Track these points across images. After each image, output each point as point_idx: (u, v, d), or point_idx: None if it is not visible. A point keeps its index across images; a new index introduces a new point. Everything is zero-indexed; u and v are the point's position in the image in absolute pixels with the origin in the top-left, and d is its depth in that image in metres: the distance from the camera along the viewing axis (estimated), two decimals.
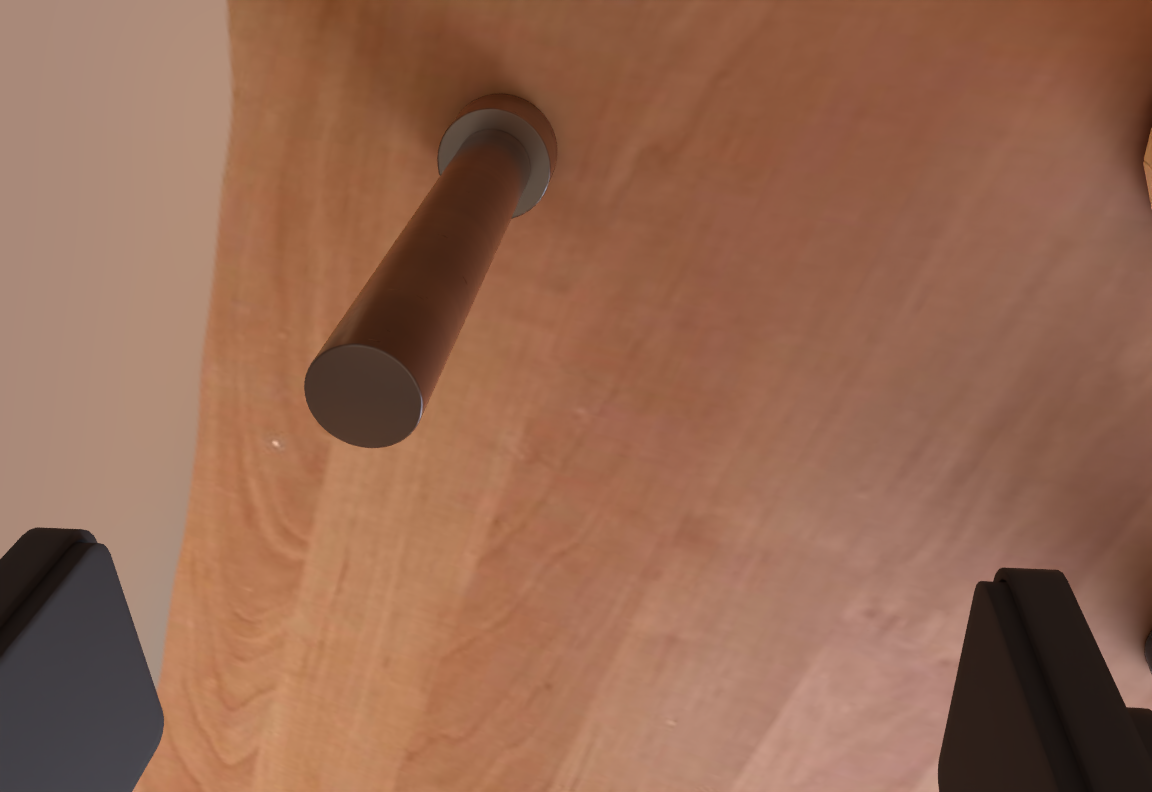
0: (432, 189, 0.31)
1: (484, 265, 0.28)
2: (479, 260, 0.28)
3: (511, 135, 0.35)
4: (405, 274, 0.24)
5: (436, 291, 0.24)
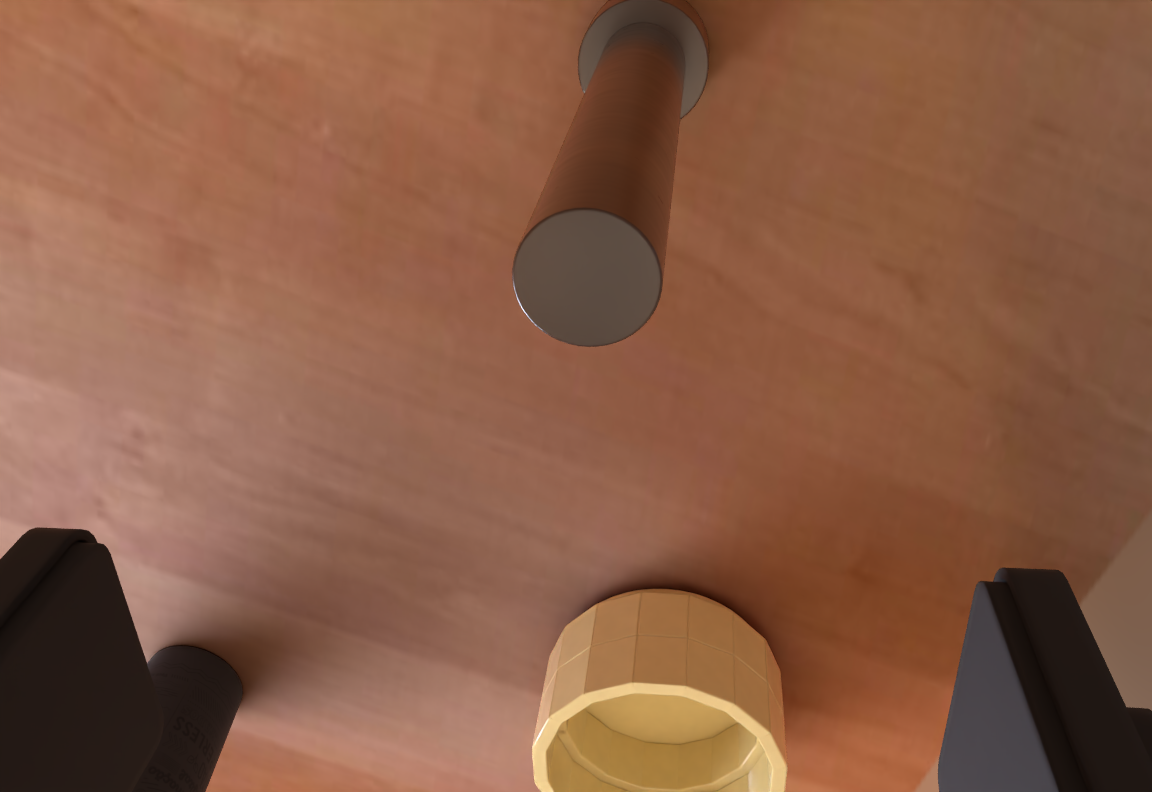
0: (669, 83, 0.26)
1: None
2: None
3: None
4: None
5: None
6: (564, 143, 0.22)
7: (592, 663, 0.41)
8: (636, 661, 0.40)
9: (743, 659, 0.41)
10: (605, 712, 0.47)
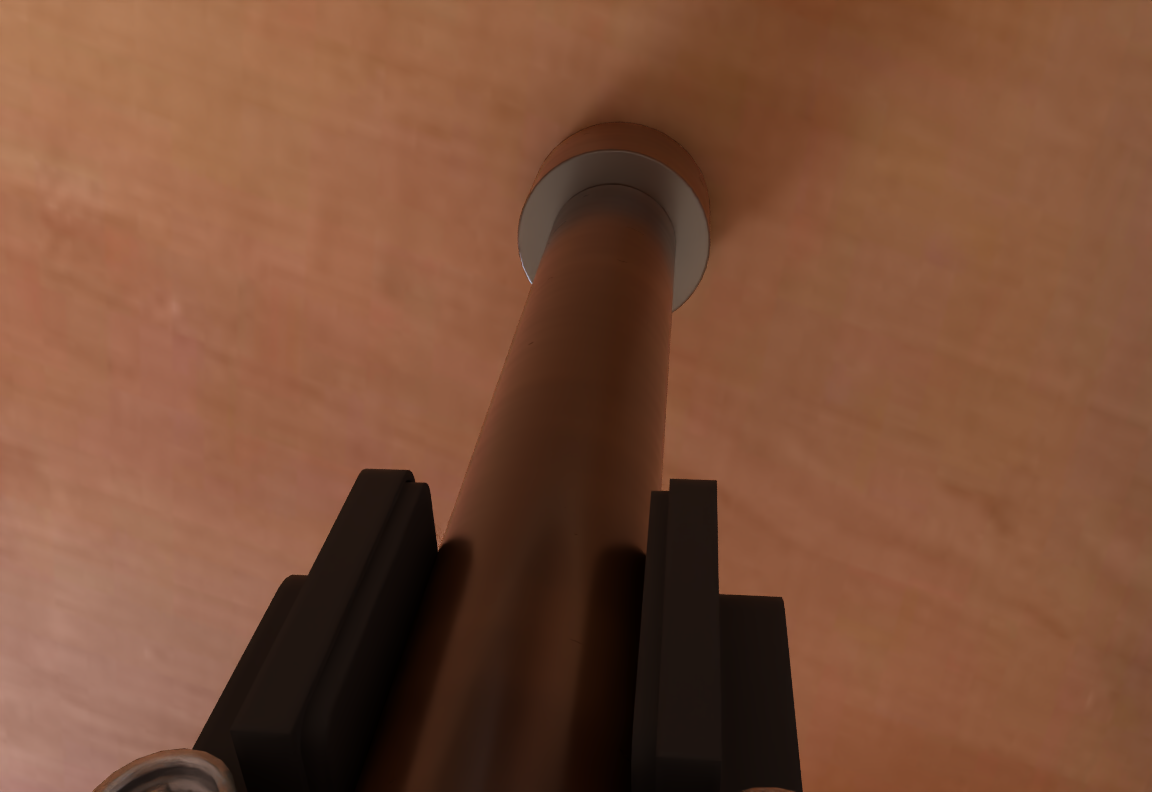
0: (650, 327, 0.16)
1: None
2: None
3: None
4: None
5: None
6: (451, 527, 0.12)
7: None
8: None
9: None
10: None
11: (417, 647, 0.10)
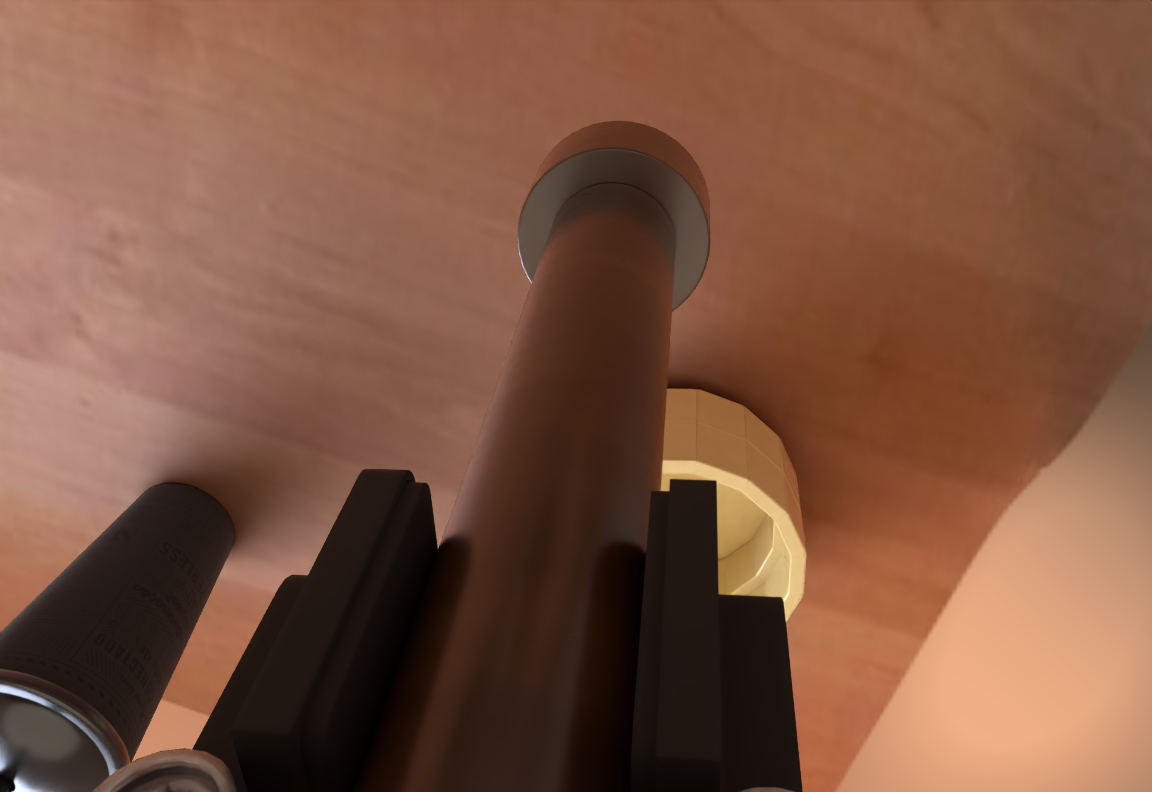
0: (650, 325, 0.16)
1: None
2: None
3: None
4: None
5: None
6: (451, 525, 0.12)
7: None
8: None
9: (756, 446, 0.39)
10: None
11: (417, 645, 0.10)
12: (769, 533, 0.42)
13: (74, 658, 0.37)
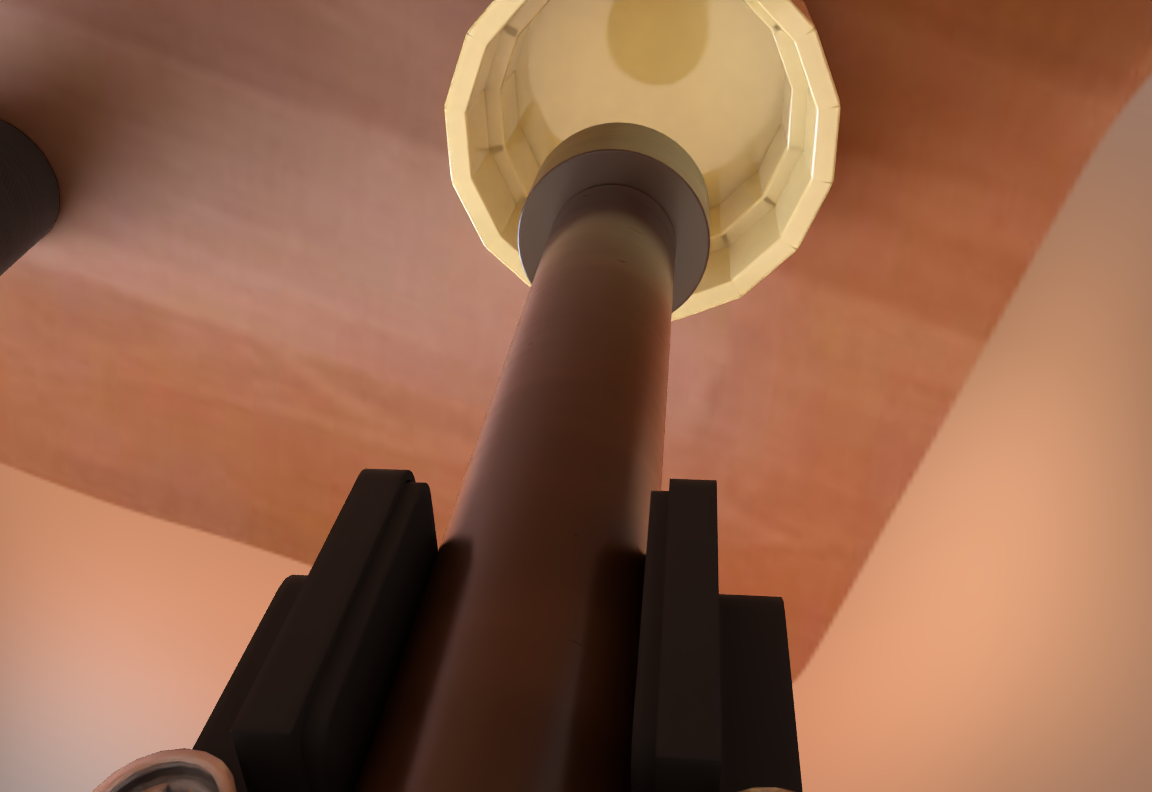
0: (650, 327, 0.16)
1: None
2: None
3: None
4: None
5: None
6: (451, 527, 0.12)
7: None
8: None
9: None
10: None
11: (416, 648, 0.10)
12: (782, 139, 0.30)
13: None
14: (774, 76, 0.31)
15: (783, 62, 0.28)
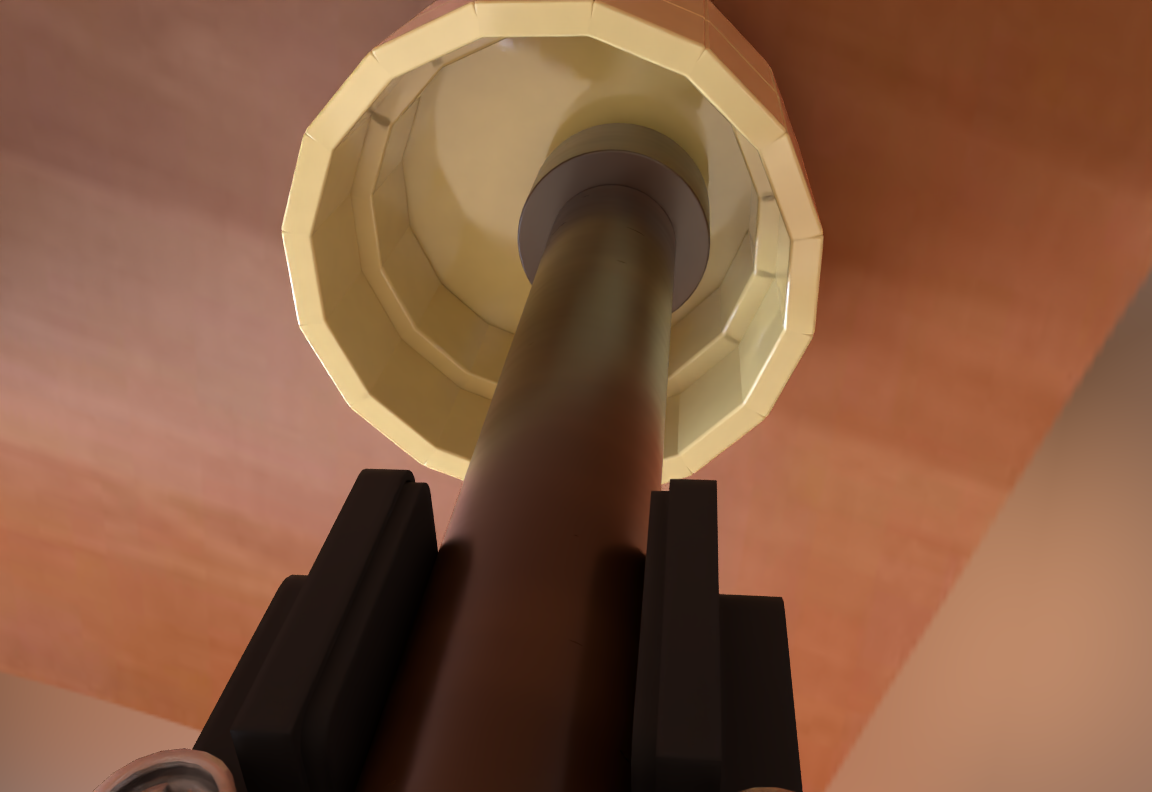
0: (650, 328, 0.16)
1: None
2: None
3: None
4: None
5: None
6: (451, 528, 0.12)
7: (401, 30, 0.19)
8: None
9: (726, 37, 0.20)
10: (472, 282, 0.25)
11: (417, 648, 0.10)
12: (748, 256, 0.23)
13: None
14: (739, 171, 0.23)
15: (747, 164, 0.21)
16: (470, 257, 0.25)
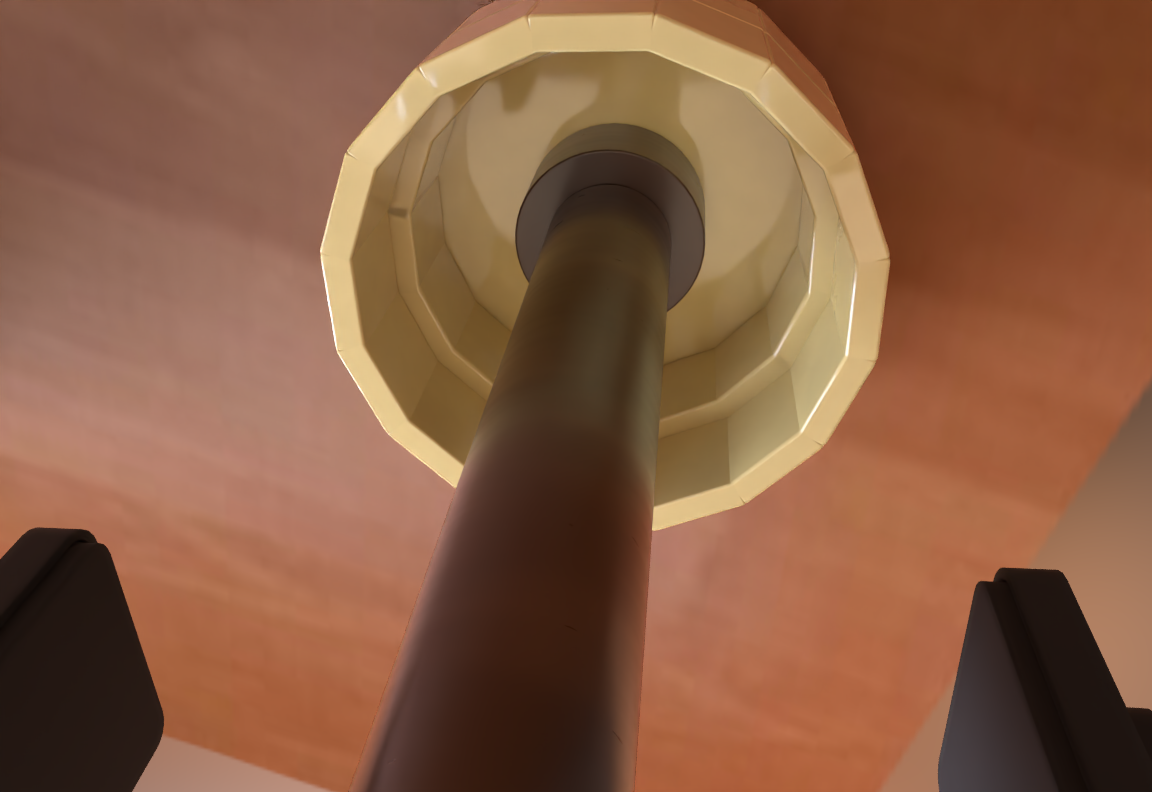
0: (645, 324, 0.16)
1: None
2: None
3: None
4: (640, 697, 0.11)
5: None
6: (449, 518, 0.12)
7: (446, 43, 0.18)
8: (540, 2, 0.17)
9: (784, 50, 0.19)
10: (508, 301, 0.25)
11: (416, 634, 0.10)
12: (800, 275, 0.22)
13: None
14: (788, 187, 0.22)
15: (803, 182, 0.20)
16: (507, 275, 0.24)
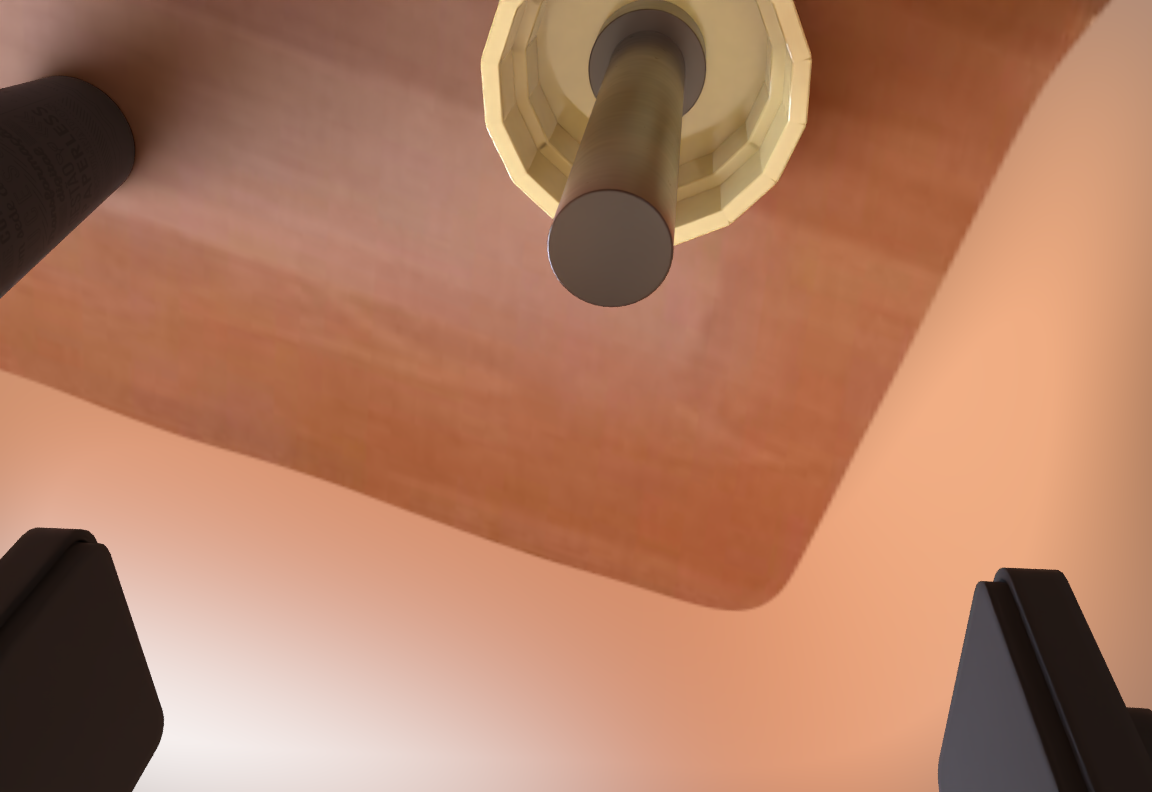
0: (673, 85, 0.30)
1: None
2: None
3: None
4: None
5: None
6: (584, 137, 0.25)
7: None
8: None
9: None
10: (578, 122, 0.38)
11: (580, 158, 0.24)
12: (765, 92, 0.35)
13: None
14: (758, 40, 0.36)
15: (765, 25, 0.33)
16: (578, 103, 0.38)
